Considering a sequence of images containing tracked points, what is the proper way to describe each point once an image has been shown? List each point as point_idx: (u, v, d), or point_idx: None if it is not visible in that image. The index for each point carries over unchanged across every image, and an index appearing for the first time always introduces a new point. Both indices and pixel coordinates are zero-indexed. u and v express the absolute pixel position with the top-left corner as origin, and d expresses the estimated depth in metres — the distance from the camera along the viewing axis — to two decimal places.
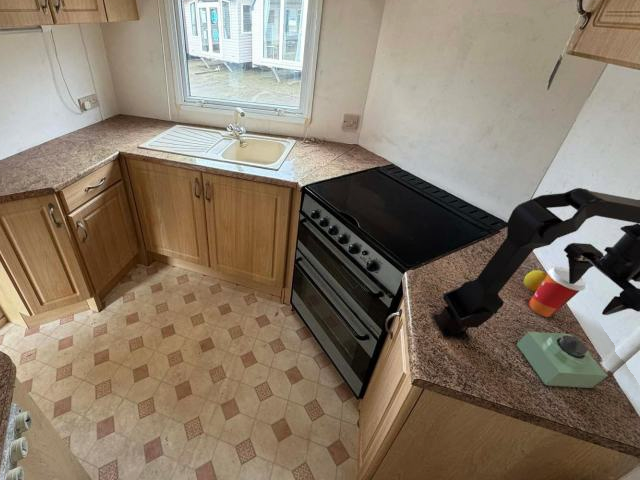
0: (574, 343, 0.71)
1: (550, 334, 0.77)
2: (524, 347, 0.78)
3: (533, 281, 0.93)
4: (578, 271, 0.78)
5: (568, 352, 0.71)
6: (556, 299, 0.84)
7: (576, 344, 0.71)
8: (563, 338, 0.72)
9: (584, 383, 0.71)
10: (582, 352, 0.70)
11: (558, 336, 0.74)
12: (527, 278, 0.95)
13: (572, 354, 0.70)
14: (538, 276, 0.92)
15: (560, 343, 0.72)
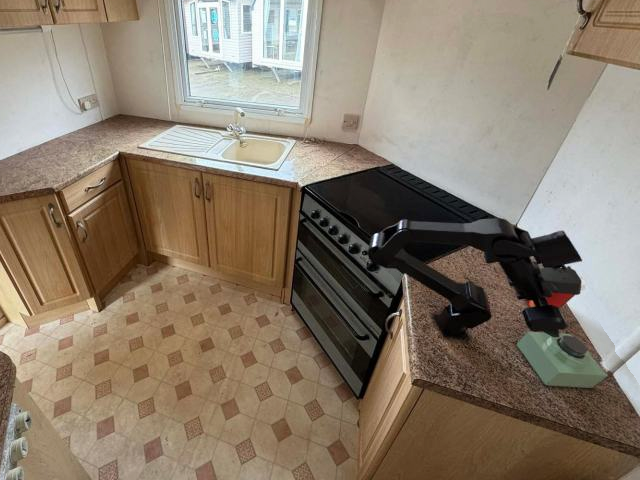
0: (574, 343, 0.71)
1: None
2: (524, 347, 0.78)
3: None
4: None
5: (568, 352, 0.71)
6: (556, 299, 0.84)
7: (576, 344, 0.71)
8: (563, 338, 0.72)
9: (584, 383, 0.71)
10: (582, 352, 0.70)
11: None
12: None
13: (572, 354, 0.70)
14: None
15: (560, 343, 0.72)
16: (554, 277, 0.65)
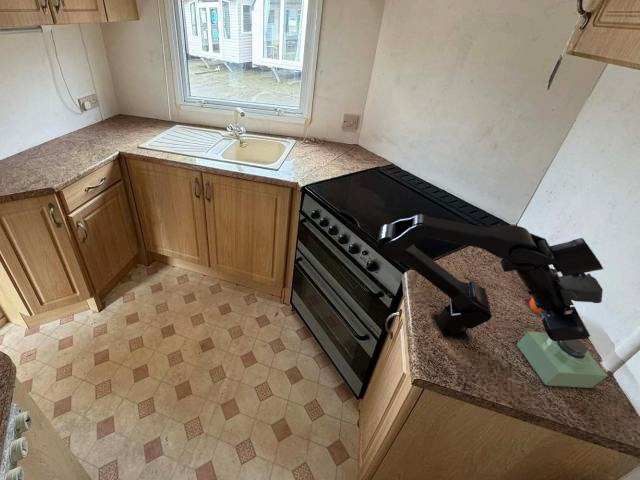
0: (574, 343, 0.71)
1: None
2: (524, 347, 0.78)
3: None
4: None
5: (568, 352, 0.71)
6: None
7: (576, 344, 0.71)
8: None
9: (584, 383, 0.71)
10: (582, 352, 0.70)
11: None
12: None
13: (572, 354, 0.70)
14: None
15: (560, 343, 0.72)
16: (574, 285, 0.65)
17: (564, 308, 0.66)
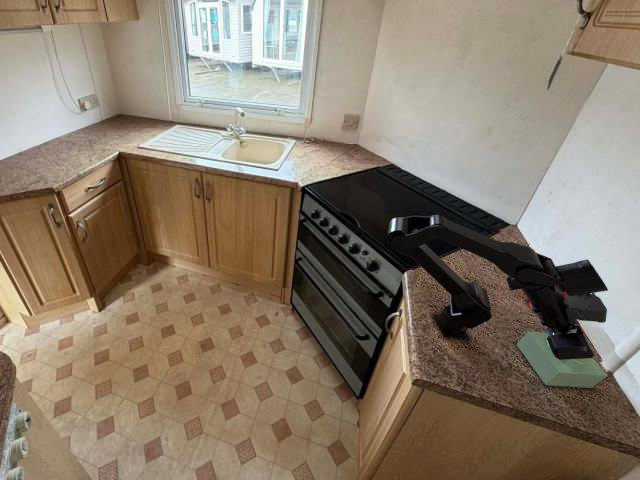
0: None
1: None
2: (524, 347, 0.78)
3: None
4: None
5: None
6: None
7: None
8: None
9: (584, 383, 0.71)
10: None
11: None
12: None
13: None
14: None
15: None
16: (579, 304, 0.66)
17: (569, 327, 0.67)
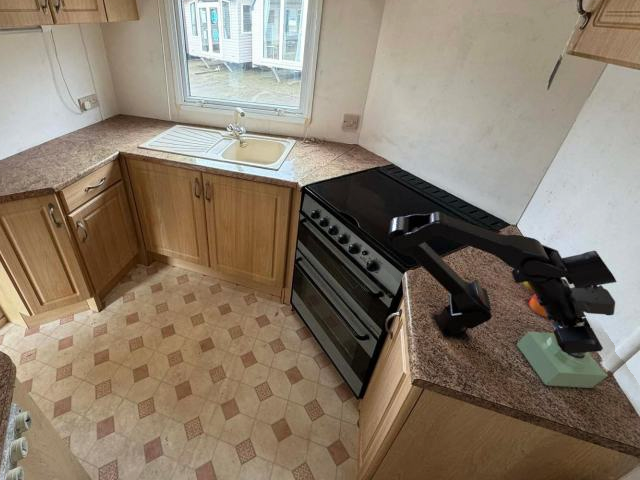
0: None
1: (550, 334, 0.77)
2: (524, 347, 0.78)
3: None
4: None
5: None
6: None
7: None
8: None
9: (584, 383, 0.71)
10: (582, 352, 0.70)
11: None
12: None
13: (572, 354, 0.70)
14: None
15: None
16: (586, 297, 0.65)
17: (576, 320, 0.66)
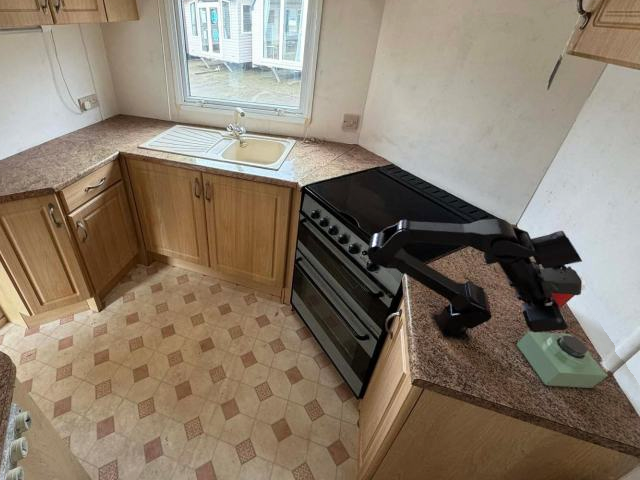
0: (574, 343, 0.71)
1: (550, 334, 0.77)
2: (524, 347, 0.78)
3: None
4: None
5: (568, 352, 0.71)
6: (556, 299, 0.84)
7: (576, 344, 0.71)
8: (563, 338, 0.72)
9: (584, 383, 0.71)
10: (582, 352, 0.70)
11: (558, 336, 0.74)
12: None
13: (572, 354, 0.70)
14: None
15: (560, 343, 0.72)
16: (554, 277, 0.65)
17: (545, 300, 0.67)
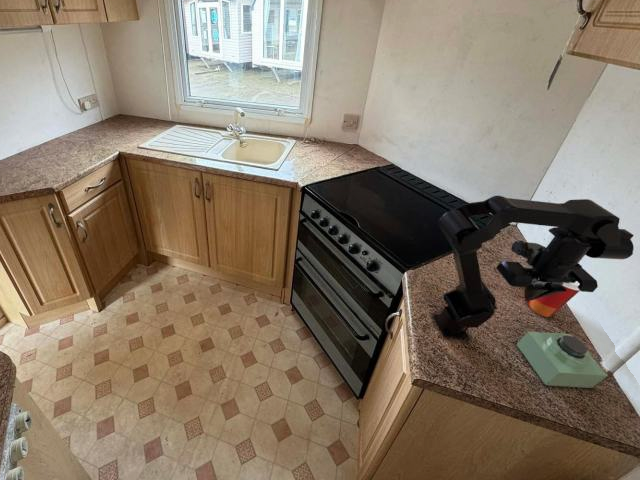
0: (574, 343, 0.71)
1: (550, 334, 0.77)
2: (524, 347, 0.78)
3: None
4: None
5: (568, 352, 0.71)
6: (556, 299, 0.84)
7: (576, 344, 0.71)
8: (563, 338, 0.72)
9: (584, 383, 0.71)
10: (582, 352, 0.70)
11: (558, 336, 0.74)
12: None
13: (572, 354, 0.70)
14: None
15: (560, 343, 0.72)
16: None
17: None
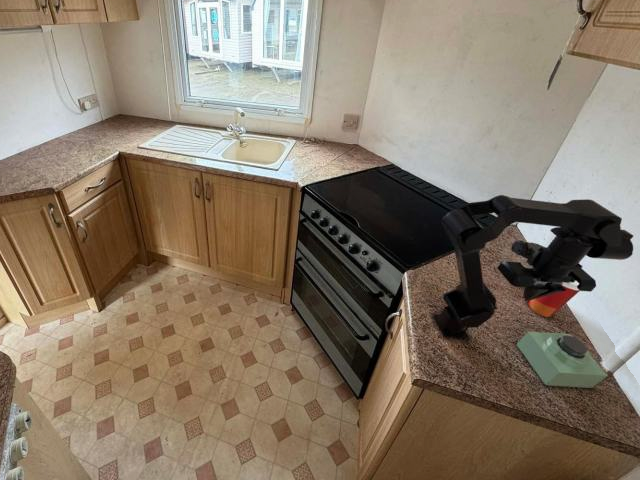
0: (574, 343, 0.71)
1: (550, 334, 0.77)
2: (524, 347, 0.78)
3: None
4: None
5: (568, 352, 0.71)
6: (556, 299, 0.84)
7: (576, 344, 0.71)
8: (563, 338, 0.72)
9: (584, 383, 0.71)
10: (582, 352, 0.70)
11: (558, 336, 0.74)
12: None
13: (572, 354, 0.70)
14: None
15: (560, 343, 0.72)
16: None
17: None
